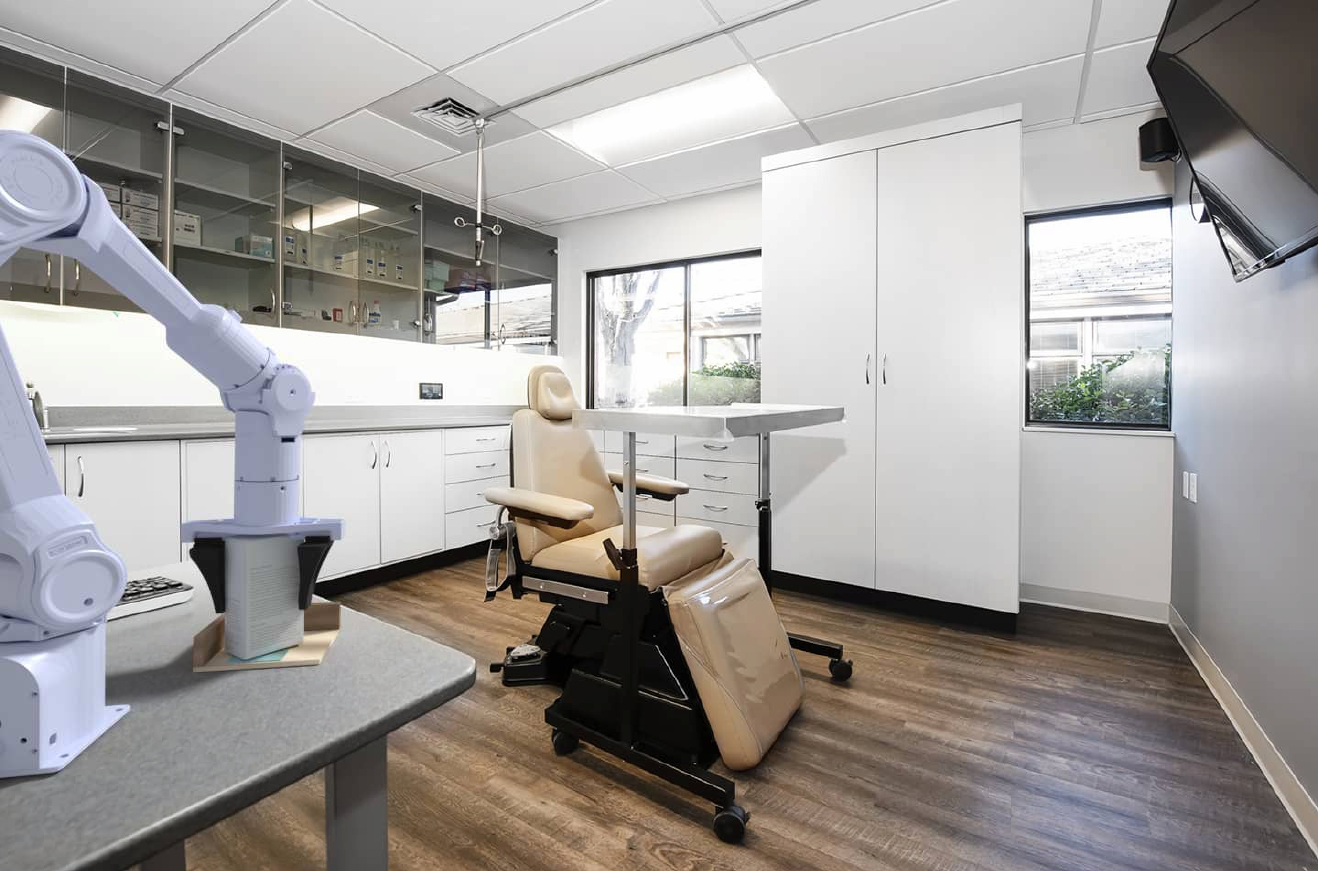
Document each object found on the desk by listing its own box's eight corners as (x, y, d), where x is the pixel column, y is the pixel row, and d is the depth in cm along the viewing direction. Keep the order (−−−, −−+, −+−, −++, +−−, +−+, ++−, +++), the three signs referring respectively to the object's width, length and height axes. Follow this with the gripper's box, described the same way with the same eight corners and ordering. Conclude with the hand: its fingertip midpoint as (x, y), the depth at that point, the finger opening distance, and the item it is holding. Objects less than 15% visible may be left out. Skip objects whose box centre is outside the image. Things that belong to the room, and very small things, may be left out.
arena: (319, 664, 63) (320, 630, 63) (193, 672, 60) (193, 636, 60) (340, 631, 72) (340, 601, 72) (231, 637, 69) (232, 606, 69)
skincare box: (282, 635, 69) (284, 527, 68) (304, 643, 66) (306, 532, 66) (221, 652, 63) (223, 535, 63) (242, 661, 61) (244, 541, 61)
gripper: (352, 475, 70) (349, 594, 71) (203, 474, 66) (201, 599, 67) (338, 483, 63) (335, 614, 64) (171, 482, 59) (169, 622, 60)
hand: (265, 608), depth 65 cm, fingers closed on skincare box, 7 cm apart
